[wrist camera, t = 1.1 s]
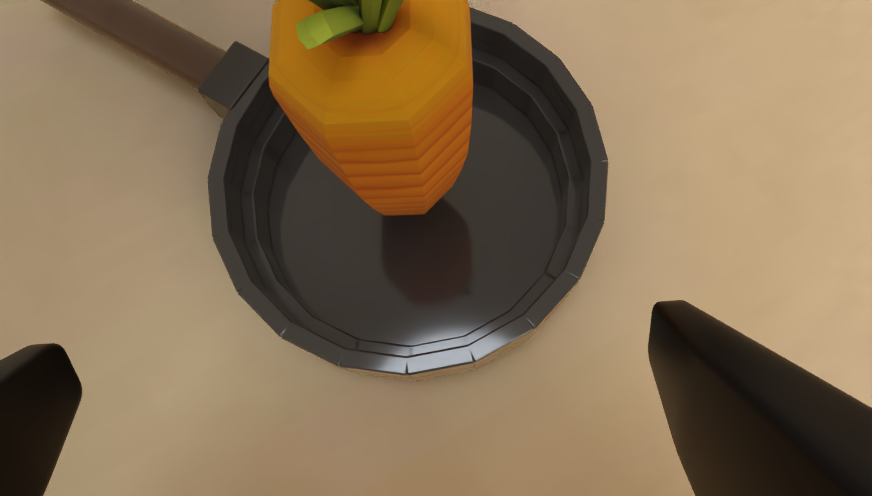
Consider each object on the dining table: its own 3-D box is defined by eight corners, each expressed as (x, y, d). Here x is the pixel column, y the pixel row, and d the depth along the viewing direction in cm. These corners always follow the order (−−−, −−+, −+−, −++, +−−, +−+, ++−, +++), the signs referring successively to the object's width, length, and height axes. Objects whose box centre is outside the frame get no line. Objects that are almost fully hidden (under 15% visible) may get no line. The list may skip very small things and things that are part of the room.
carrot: (445, 124, 24) (406, -304, 10) (498, 230, 23) (541, -83, 9) (331, 172, 24) (120, -195, 10) (378, 283, 23) (213, 51, 8)
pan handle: (285, 86, 24) (269, 57, 22) (250, 134, 23) (230, 109, 21) (58, -38, 26) (25, -74, 24) (22, 3, 26) (-15, -31, 24)
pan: (657, 268, 23) (689, 243, 19) (335, 448, 22) (309, 455, 18) (478, 4, 26) (479, -57, 23) (194, 147, 25) (152, 105, 22)
